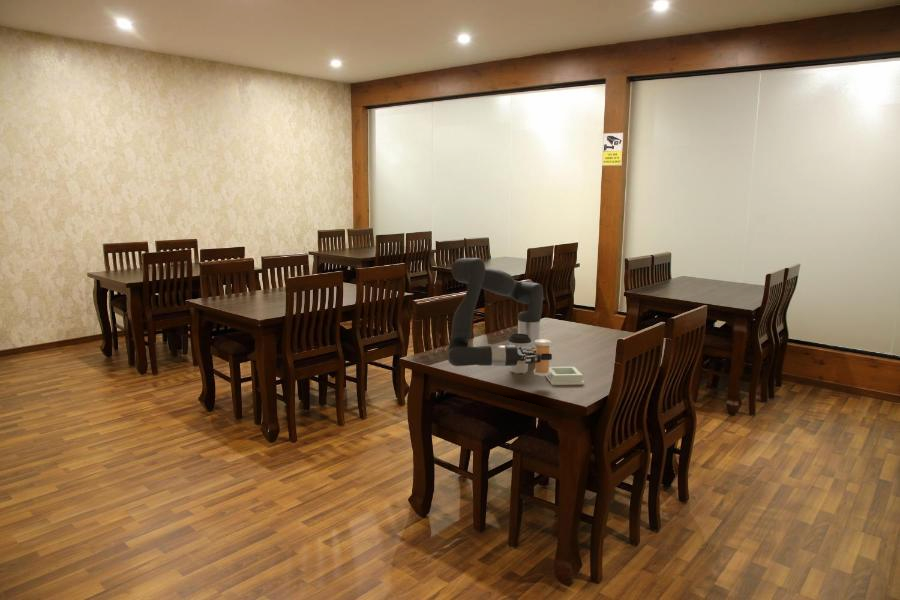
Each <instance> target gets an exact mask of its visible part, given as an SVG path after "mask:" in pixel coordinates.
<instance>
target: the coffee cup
mask: <svg viewBox="0 0 900 600" xmlns="http://www.w3.org/2000/svg"><path fill="white" fill-rule="evenodd" d="M507 340H508V345H516V347H517V350H518V349H519V347H530V344H531V339H530V338H529V336H528V335H526V334H518V333H511V335H510V336H509V338H508V339H507ZM509 367H510V368H509V371H510V372H511V371H512V372H514V373H513V374H517V373H523V374H527V373H528V368H529V364H526V363H525V362H522V361H517V365H516V366H509ZM512 372H511V373H512ZM526 372H527V373H526Z"/></svg>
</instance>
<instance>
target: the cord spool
mask: <svg viewBox="0 0 900 600" xmlns="http://www.w3.org/2000/svg"><path fill="white" fill-rule="evenodd" d="M534 344H535V345H536V353H540V354H547V353H550V347H551V346H552V341H551V340H549V339H543V338H540V339H538V340H535V341H534ZM536 359H537V357H536ZM534 364H535V365H534V367H535V368H534V369H533V375H535V376H539V377H546V376H548V375H550V370H549V367H550V360H541V362H540V363H534Z"/></svg>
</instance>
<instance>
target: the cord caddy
mask: <svg viewBox="0 0 900 600" xmlns="http://www.w3.org/2000/svg"><path fill="white" fill-rule="evenodd" d="M549 370H550V375H548V376H545V378H546V379H547V380H548V381H550V382H549V383H550V384H551V385H552V386H568V385H574V386H575V385H576V386H577V385H585V383H584V382H585V381H584V380H583V376H584V375H583V374H582V372H580V371H579V369H578V368H576V367H575V366H549Z"/></svg>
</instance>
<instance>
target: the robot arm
mask: <svg viewBox="0 0 900 600" xmlns="http://www.w3.org/2000/svg"><path fill="white" fill-rule="evenodd" d="M450 270H451V274H452V277H453V278H454V280H456V282H458V283H461V284H466V285H468V286H467V291H466V293H465V295H464V297H463V299H462V301H461V302H460V303H459V305H458V307H457V308H456V310H455V312H454V315H453V318H452V324H451V331H450V332H451V333H450V334H451V335H450V341H449V344H448V349H447V361H448V363H449V364H450V365H452V366H454V367H466V366H482V367H483V366H484V367H485V366H486V367H487V366H495V367H510V366H516V365H517V361H522V362H525V363H526V364H528V365H529V364H535V363H540V362H541V360H549V361H552V359H553V358H552V357H553V354H552V353H550V352H549V353H547V354H540V353H536V345H535V344H534V341H535V340H538V339H541V338H540V337H541V317H542V314H543V305H544V304H543V303H544V288H543V285H542V284H540V283H537V282H530V281H529V282H528V281H519V280H516V279H514V277H513V276H512V274H510V273H508V272H505V271H503V270H500V269H496V268H489V267H486V265H485V263H484V261H483V259H482V258H479V257H460V258H458V259H456V260H455V261H454V262H453V263H452V265H451V269H450ZM481 289H483V290H485V291H488V292H490V293H493V294H495V295H499V296H503V297H508V298H511V299H512V300H514V301H516V302H517V303H520V304H524V305H528V309H527V310H525V311H520V312H519V313H518V315H517V316H518V320H517V334H526V335H528V336H529V338H530V339H531V344H530V347H519V349H518V350H517V347H516V345H509V344H497V345H480V346H479V345H478V346H468V345H469V340H470V338H471V334H472V328H473V321H474V320H473V319H474V314H475V309H476V306H477V303H478V300H479V296H480V294H481ZM536 357H537V359H536Z"/></svg>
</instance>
